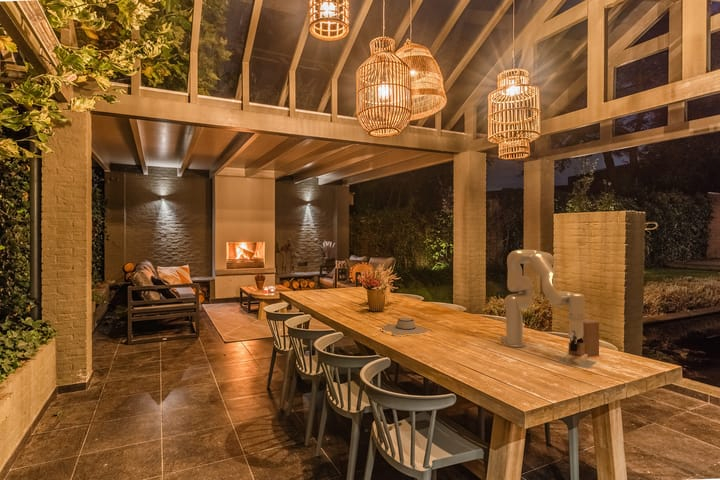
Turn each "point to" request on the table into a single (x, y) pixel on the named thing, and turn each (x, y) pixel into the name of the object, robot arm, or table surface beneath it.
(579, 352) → the walnut cube
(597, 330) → the wooden block
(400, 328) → the sun hat
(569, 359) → the birch base brick
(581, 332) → the robot arm
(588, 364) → the grey flat square
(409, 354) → the table surface
